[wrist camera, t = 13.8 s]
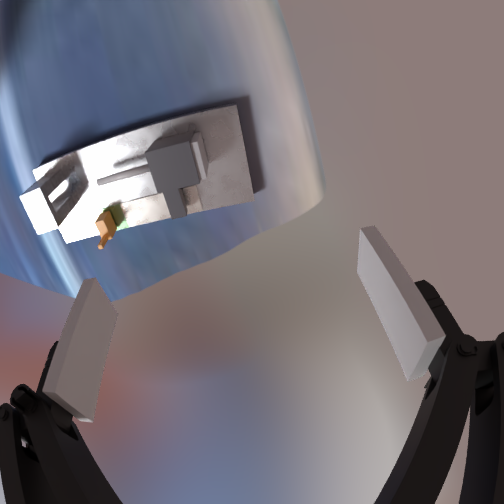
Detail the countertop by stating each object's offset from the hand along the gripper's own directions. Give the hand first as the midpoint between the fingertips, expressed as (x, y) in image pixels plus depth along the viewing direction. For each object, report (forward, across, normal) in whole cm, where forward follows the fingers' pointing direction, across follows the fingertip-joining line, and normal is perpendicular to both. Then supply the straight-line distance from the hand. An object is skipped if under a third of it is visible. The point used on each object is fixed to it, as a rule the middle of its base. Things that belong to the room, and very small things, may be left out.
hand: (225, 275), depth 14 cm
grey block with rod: (+25, -9, -3) cm, 27 cm away
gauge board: (+27, -13, -3) cm, 30 cm away
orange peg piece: (+24, -18, -7) cm, 31 cm away
